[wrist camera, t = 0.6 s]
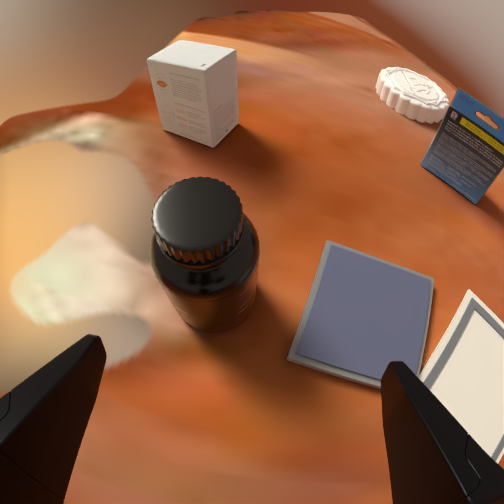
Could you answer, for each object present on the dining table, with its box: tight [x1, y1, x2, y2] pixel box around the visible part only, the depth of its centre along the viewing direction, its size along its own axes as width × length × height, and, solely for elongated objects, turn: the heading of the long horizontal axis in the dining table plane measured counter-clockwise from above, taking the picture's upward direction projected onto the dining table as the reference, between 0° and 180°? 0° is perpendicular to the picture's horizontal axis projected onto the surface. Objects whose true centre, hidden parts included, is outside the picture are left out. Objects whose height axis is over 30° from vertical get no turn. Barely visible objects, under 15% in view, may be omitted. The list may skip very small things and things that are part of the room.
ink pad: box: [286, 240, 434, 389], centre depth 25 cm, size 11×11×1 cm
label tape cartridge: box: [421, 88, 504, 204], centre depth 29 cm, size 9×4×12 cm, turn 50°
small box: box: [147, 40, 239, 148], centre depth 33 cm, size 8×6×10 cm
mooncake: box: [376, 67, 449, 124], centre depth 41 cm, size 12×12×4 cm
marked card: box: [418, 289, 504, 463], centre depth 22 cm, size 14×14×1 cm
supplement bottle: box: [150, 177, 260, 332], centre depth 21 cm, size 7×7×12 cm
